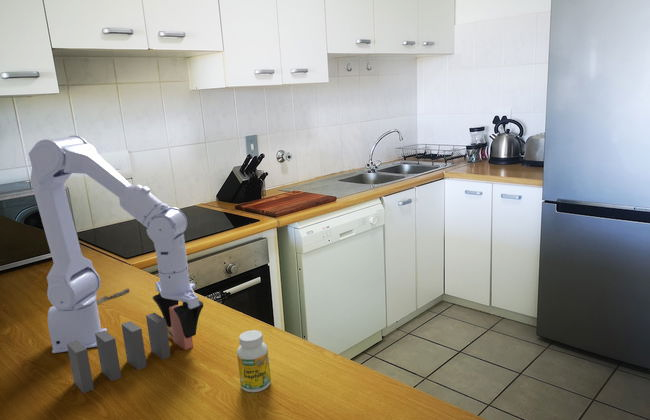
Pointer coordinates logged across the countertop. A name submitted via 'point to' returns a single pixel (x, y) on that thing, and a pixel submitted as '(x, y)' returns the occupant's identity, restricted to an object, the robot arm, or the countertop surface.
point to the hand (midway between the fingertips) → (181, 330)
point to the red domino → (179, 331)
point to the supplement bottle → (253, 362)
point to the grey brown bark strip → (111, 296)
